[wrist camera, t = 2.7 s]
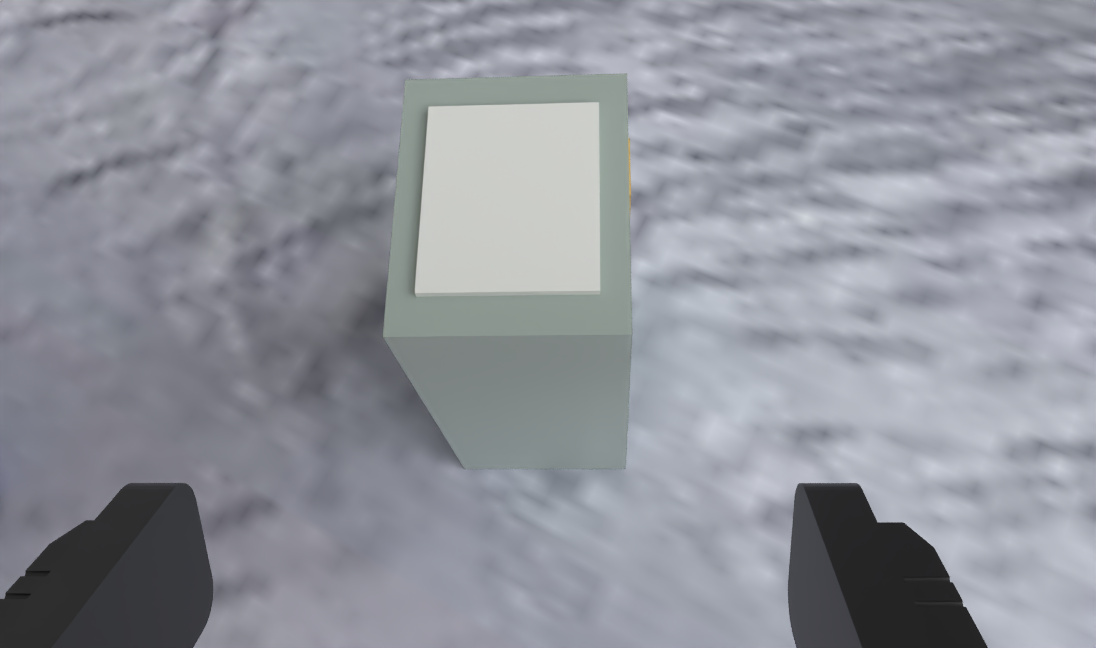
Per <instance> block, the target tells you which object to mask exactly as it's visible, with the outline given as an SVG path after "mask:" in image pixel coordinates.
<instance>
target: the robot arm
mask: <svg viewBox="0 0 1096 648" xmlns="http://www.w3.org/2000/svg"><path fill="white" fill-rule="evenodd" d="M949 578H950V577H949V575H948V573H947V571H946V569H945V567H944V565H943V564H942V562H941V560H940V558H939V556H938V554H937V552H936V551H935V549H934V547H933V546H931V545H930V544H929V543H928V542H926V541H925V540H924V539H923V538H922V537H920V536H919V535H918V534H917V533H916V532H914V531H913V530H912V529H911V528H909V527H908V526H907V525H906V524H905V523H877V520H876V518H875V516H874V514H873V512H872V510H871V508H870V505H869V503H868V501H867V499H866V497H865V495H864V493H863V490H862V489H861V487H860V485H859V484H857V483H800V484H798V486H797V488H796V493H795V500H794V513H793V526H792V539H791V552H790V565H789V579H788V603H789V614H790V622H791V628H792V632H793V636H794V640H795V644H796V647H797V648H988V647H987V645H986V643H985V642H984V640H983V638H982V636H981V634H980V632H979V630H978V629H977V627H976V625H975V623H974V621H973V619H972V617H971V616H970V614H969V612H968V610H967V608H966V607H963V603H962V602H963V601H962V599H961V597H960V595H959V593H958V591H957V590H956V588H955V586H954V584H953V583H952V582H950V579H949ZM5 594H6V596H5V599H0V648H193V647H194V645H195V643H196V642H197V640H198V638H199V636H200V635H201V633H202V631H203V629H204V628H205V626H206V623H207V621H208V618H209V615H210V611H211V606H212V600H213V579H212V573H211V569H210V564H209V559H208V554H207V550H206V545H205V540H204V535H203V531H202V526H201V521H200V516H199V512H198V507H197V502H196V498H195V495H194V492H193V490H192V489H191V487H190V486H189V485H187V484H186V483H130V484H127V485H126V486H124V487H123V488H122V489H121V490H120V491H119V493H118V494H117V495H116V496H115V497H114V498H113V499H112V501H111V502H110V503H109V504H108V505H107V506H106V508H105V509H104V510H103V511H102V512H101V513H100V515H99V516H98V517H97V518H96V519H95V520H86V521H85V522H83V523H81V524H80V525H78V526H77V527H75V528H74V529H72V530H71V531H69V532H68V533H66V534H64V535H63V536H61V537H60V538H58V539H57V540H55V541H54V542H52V543H51V544H49V545H48V547H47V548H46V549H45V550H44V551H43V552H42V553H41V554H40V555H39V557H38V558H37V559H36V560H35V561H34V562H33V563H32V564H31V565H30V567H29V568H28V569H27V570H26V574H25V576H21V577H20V578H19V579H18V580H17V581H16V582H15V583H14V584H13V585H12V587H11V588H10V589H9V590H8V591H7V592H6V593H5Z"/></svg>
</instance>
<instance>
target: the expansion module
mask: <svg viewBox="0 0 1096 648" xmlns="http://www.w3.org/2000/svg"><path fill="white" fill-rule="evenodd" d="M630 204H631V182H630V138H628V100H627V74H595V75H559V76H523V77H487V78H451V79H415V80H405V88H404V99H403V111H402V122H401V134H400V145H399V156H398V168H397V179H396V191H395V202H394V214H393V225H392V236H391V248H390V259H389V271H388V282H387V293H386V305H385V316H384V328H383V338H384V340H385V341H386V343H387V345H388V346H389V348H390V350H391V351H392V353H393V354H394V356H395V358H396V359H397V361H398V362H399V364H400V366H401V367H402V369H403V370H404V372H405V374H406V375H407V377H408V379H409V380H410V382H411V383H412V385H413V387H414V388H415V390H416V391H417V393H418V395H419V396H420V398H421V399H422V401H423V403H424V404H425V406H426V408H427V409H428V411H429V412H430V414H431V416H432V417H433V419H434V420H435V422H436V424H437V425H438V427H439V428H440V430H441V432H442V433H443V435H444V437H445V438H446V440H447V441H448V443H449V445H450V446H451V448H452V449H453V451H454V453H455V454H456V456H457V457H458V459H459V461H460V462H461V464H462V466H463V467H464V469H626V452H627V431H628V411H629V390H630V369H631V349H632V301H631V251H630Z"/></svg>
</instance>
